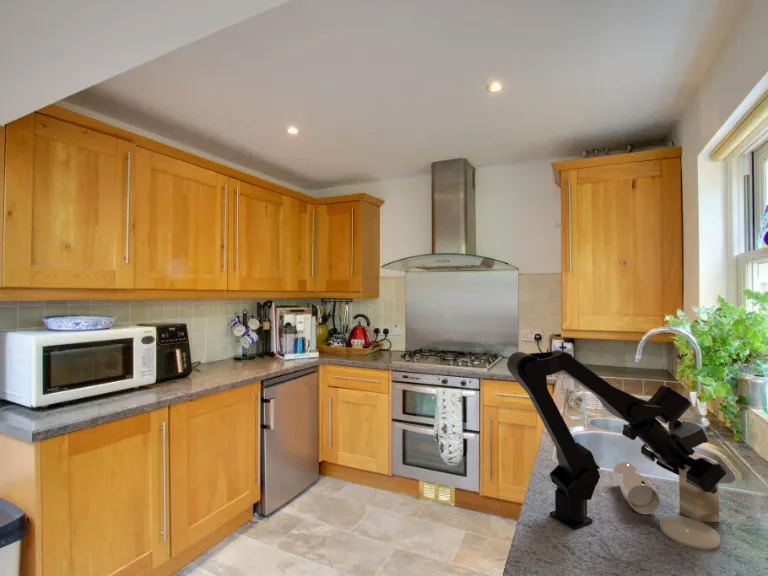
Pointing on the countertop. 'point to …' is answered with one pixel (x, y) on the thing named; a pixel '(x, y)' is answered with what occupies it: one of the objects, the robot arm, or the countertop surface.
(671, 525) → the saucer
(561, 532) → the countertop surface
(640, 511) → the beer glass
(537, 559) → the countertop surface
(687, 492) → the wooden block
